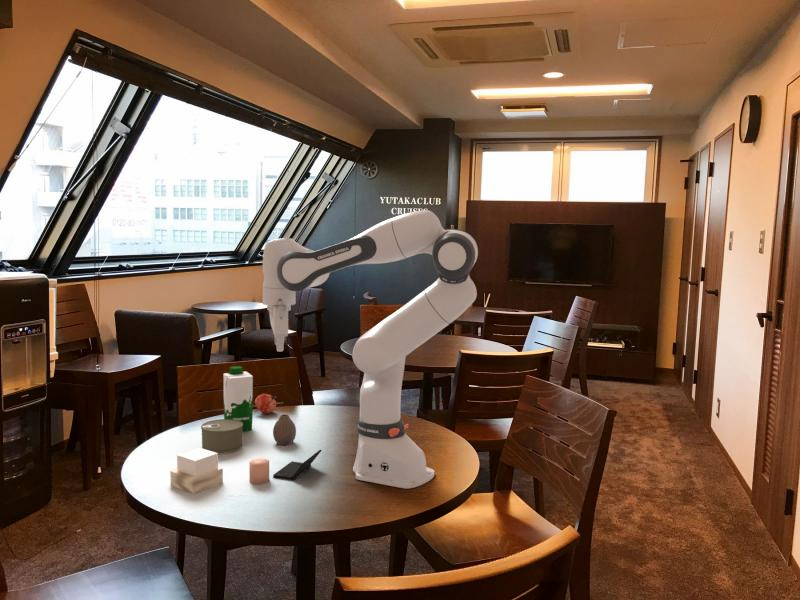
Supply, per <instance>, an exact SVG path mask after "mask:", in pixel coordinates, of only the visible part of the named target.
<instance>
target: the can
mask: <svg viewBox="0 0 800 600" xmlns="http://www.w3.org/2000/svg"><path fill="white" fill-rule="evenodd" d="M242 427H243V423H242V422H241V421H238V420H233V419H224V418H223V419H214V420H213V419H212V420H209V421H206V422H203V423H202V424H201V425H200V428H201V429H200V430H201V448H202V449H205V450H209V451H212V452H215V453H219V454H220V455H221V453H222V454H229V453H233V452H236V451H239V450H242V448H243V431H242ZM219 454H218V455H219Z"/></svg>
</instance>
